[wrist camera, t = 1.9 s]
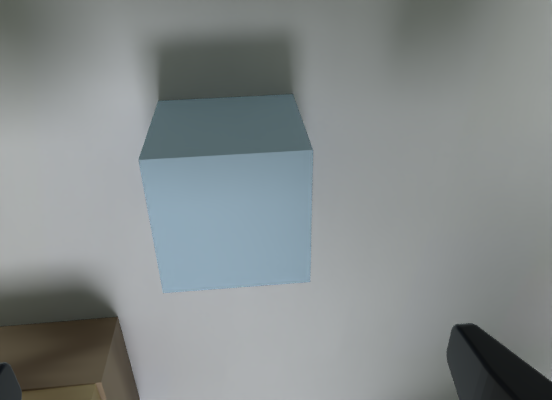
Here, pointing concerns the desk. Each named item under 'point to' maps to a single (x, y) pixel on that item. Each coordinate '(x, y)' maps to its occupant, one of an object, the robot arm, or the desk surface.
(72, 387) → the tower top
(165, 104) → the cube
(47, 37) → the desk surface
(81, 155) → the desk surface
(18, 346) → the tower base
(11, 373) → the robot arm
